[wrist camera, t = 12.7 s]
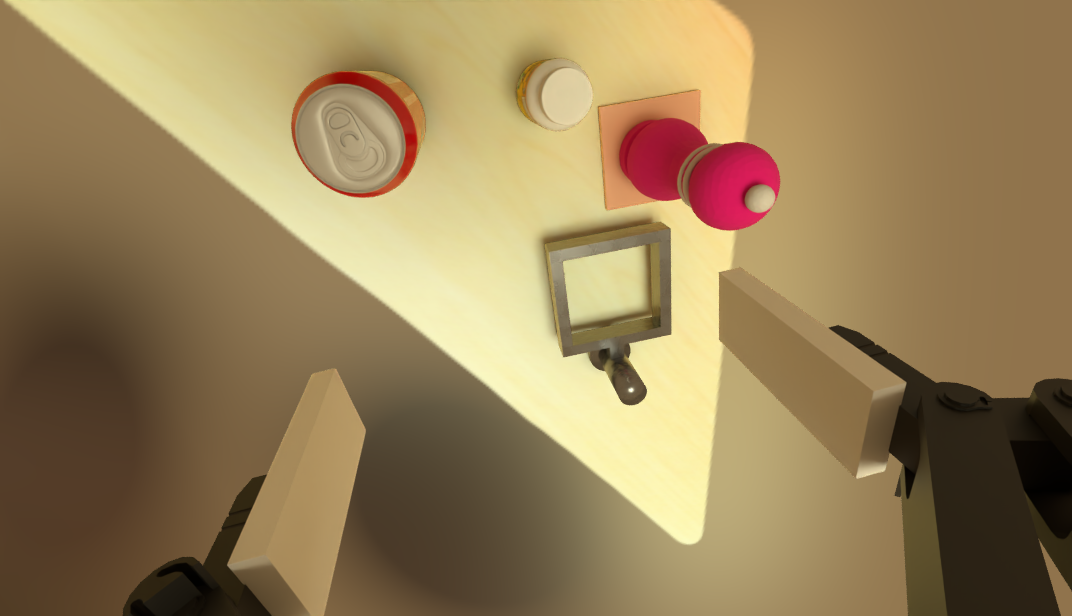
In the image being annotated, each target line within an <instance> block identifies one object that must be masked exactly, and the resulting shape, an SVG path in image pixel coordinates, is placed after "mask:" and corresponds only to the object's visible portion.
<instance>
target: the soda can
mask: <svg viewBox="0 0 1072 616" xmlns="http://www.w3.org/2000/svg"><path fill="white" fill-rule="evenodd" d="M291 129H292V137H293V142H294V145H295V148H296V151H297V153H298V155H299V157H300V159H301V161H302V163H303V164H304V166H305V167H306V168H307V170H308V171H309V172H310V173H311V174H312V175H313V176H314V177H315V178H316V179H317V180H318V181H319V182H321V183H322V184H323V185H325V186H326V187H328V188H330V189H332V190H334V191H336V192H338V193H341V194H344V195H347V196H352V197H360V198H366V197H375V196H379V195H382V194H385V193H387V192H389V191H391V190H393V189H395V188H396V187H397V186H399V185H400V184H401V183H402V182H403V181H404V180H405V179H406V178H407V176H408V175H409V173H410V172H411V170H412V168H413V166H414V164H415V161H416V159H417V156H418V153H419V151H420V148H421V145H422V142H423V140H424V136H425V129H426V121H425V114H424V111H423V108H422V105H421V103H420V101H419V99H418V97H417V96H416V94H415V93H414V92H413V90H412V89H411V88H410V87H409V86H408V85H407V84H406V83H404V82H403V81H402V80H400V79H399V78H397V77H395V76H393V75H390V74H388V73H384V72H379V71H338V72H332V73H329V74H326V75H323V76H321V77H319V78H317V79H316V80H314V81H313V82H311V83H310V84H309V85H308V86H307V87H306V88H305V89H304V90H303V92H302V93H301V95H300V96H299V98H298V100H297V102H296V104H295V107H294V110H293V114H292V122H291Z"/></svg>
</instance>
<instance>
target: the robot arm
mask: <svg viewBox="0 0 1072 616" xmlns="http://www.w3.org/2000/svg"><path fill="white" fill-rule="evenodd" d="M719 340H720V341H721V342H722V343H723V344H724V345H725V346H726V347H727V348H728V349H729V350H730V351H731V352H732V353H733V354H734V355H735V356H736V357H737V358H738V359H739V360H740V361H741V362H742V363H743V364H744V365H745V366H746V367H747V369H749V371H750V372H751V373H752V374H753V375H754V376H755V377H756V378H757V379H759V380H760V382H761V383H762V384H763V385H764V386H765V387H766V388H767V389H768V390H769V391H770V392H771V393H772V394H773V395H774V396H775V397H776V398H777V399H778V400H779V401H780V402H781V403H782V404H783V405H784V406H785V407H786V408H787V409H788V410H789V411H790V412H791V413H792V414H793V415H794V416H795V417H796V418H797V419H798V420H799V421H800V422H801V423H802V424H803V425H804V426H805V427H806V429H807V430H808V431H809V432H811V433H812V435H814V437H815V438H816V439H817V440H818V441H819V442H820V443H821V444H822V445H823V446H824V447H825V448H826V449H827V450H828V451H829V452H830V453H831V454H832V455H833V456H834V457H835V458H836V459H837V460H838V461H839V462H840V463H841V464H842V465H843V466H844V467H845V468H846V469H847V470H848V471H849V472H850V473H851V474H852V475H853V476H854V477H855V478H856V479H857V478H861V477H864V476H868V475H871V474H875V473H879V472H882V471H885V469H886V465H887V461H888V457H889V453H891V454H892V455H893V456H895V457H896V458H897V459H898V460H899V461H900V462H901V463H902V464H903V466H902V470H901V473H900V477H899V481H898V484H897V488H896V492H895V496H897V497H900V496H902V515H903V532H904V551H905V569H906V585H907V603H908V616H1061V614H1060V611H1059V608H1058V604H1057V601H1056V597H1055V594H1054V591H1053V587H1052V584H1051V580H1050V577H1049V574H1048V570H1047V567H1046V563H1045V560H1044V557H1043V553H1042V550H1041V547H1040V543H1039V540H1040V541H1041V543H1042V545H1043V546H1044V548H1045V549H1046V551H1047V553H1048V554H1049V556H1050V557H1051V559H1052V561H1053V562H1054V564H1055V565H1056V567H1057V568H1058V570H1059V572H1060V573H1061V575H1062V576H1063V578H1064V579H1065V581H1066V582H1067V584H1068V586H1069V587H1070V589H1071V590H1072V380H1068V379H1059V378H1058V379H1045V380H1042V381H1040V382H1038V383H1036V384H1035V386H1034V389H1033V391H1032V393H1031V396H1030V398H991V397H990V396H989V395H987V394H986V393H984V392H982V391H980V390H978V389H976V388H973V387H971V386H967V385H963V384H959V383H950V382H939V383H935V382H934V381H932V380H931V379H929V378H928V377H926V376H925V375H923V374H922V373H920V372H919V371H917V370H915V369H914V368H913V367H911V366H909V365H908V364H906V363H905V362H903V361H902V360H900V359H899V358H897V357H896V356H894V355H892V354H891V353H889V354H888V352H887V351H886V350H885V349H883V348H882V347H880V346H879V345H875V344H874V342H873V341H871V340H870V339H868V338H867V337H865V336H863V335H862V334H860V333H859V332H856V331H853V330H851V329H848V328H845V327H842V326H839V325H837V326H833V327H829V328H827V327H826V326H824V325H823V324H822V323H820V322H819V321H817V320H816V319H814V318H813V317H811V316H810V315H808V314H807V313H806V312H804V311H803V310H801V309H800V308H799V307H797V306H796V305H794V304H793V303H791V302H790V301H788V300H787V299H786V298H784V297H783V296H781V295H780V294H778V293H777V292H775V291H774V290H773V289H771V288H770V287H768V286H767V285H765V284H764V283H762V282H761V281H759V280H758V279H757V278H755V277H754V276H752V275H751V274H749V273H748V272H747V271H745V270H744V269H742V268H740V267H739V268H735V269H731V270H727V271H723V272H719ZM365 432H366V430H365V428H364V426H363V423H362V421H361V419H360V417H359V415H358V413H357V411H356V409H355V407H354V405H353V403H352V401H351V399H350V397H349V395H348V393H347V391H346V389H345V387H344V384H343V382H342V380H341V378H340V376H339V374H338V372H337V370H336V368H333V369H329V370H326V371H321V372H317V373H313V374H312V375H311V377H310V379H309V382H308V384H307V386H306V388H305V391H304V393H303V395H302V397H301V400H300V402H299V404H298V406H297V409H296V411H295V413H294V415H293V418H292V420H291V422H290V424H289V427H288V429H287V431H286V433H285V436H284V438H283V440H282V443H281V445H280V447H279V449H278V451H277V454H276V456H275V458H274V460H273V463H272V465H271V467H270V469H269V472H268V474H267V475H263V476H259V477H255V478H252V479H251V481H250V482H249V483H248V484H247V485H246V486H245V487H244V489H243V490H242V491H241V492H240V493H239V494H238V495H237V497H236V499H235V501H234V504H233V505H232V508H231V510H230V512H229V517H227V518H226V520H225V522H224V524H223V526H222V531H221V532H219V534H218V536H217V538H216V540H215V542H214V544H213V546H212V548H211V550H210V552H209V554H208V556H207V558H206V560H205V563H204V564H203V566H202V564H201V563H200V562H199V561H197V560H196V559H195V558H193V557H181V558H178V559H175V560H173V561H170V562H168V563H166V564H164V565H163V566H161V567H160V568H158V569H156V570H154V571H153V572H152V573H151V574H150V575H149V576H148V577H146V578H145V579H144V580H143V581H142V582H140V584H139V585H138V586H137V587H136V589H135V590H134V591H133V592H132V593H131V595H130V596H129V598H128V600H127V602H126V604H125V606H124V608H123V616H324V612H325V608H326V603H327V599H328V595H329V590H330V586H331V581H332V577H333V573H334V568H335V564H336V559H337V555H338V551H339V546H340V542H341V537H342V533H343V529H344V524H345V520H346V516H347V511H348V507H349V502H350V498H351V493H352V489H353V484H354V480H355V475H356V472H357V467H358V463H359V458H360V454H361V450H362V445H363V441H364V436H365ZM1038 538H1039V540H1038Z"/></svg>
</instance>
